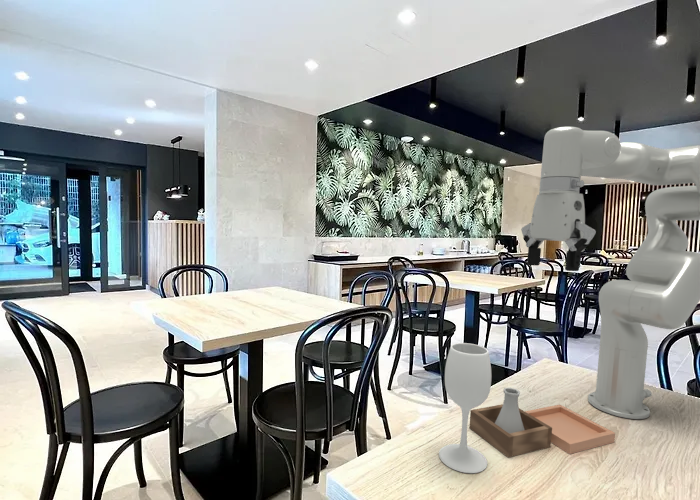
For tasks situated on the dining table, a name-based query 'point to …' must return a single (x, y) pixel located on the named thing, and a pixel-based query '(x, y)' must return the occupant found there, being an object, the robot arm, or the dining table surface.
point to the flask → (510, 412)
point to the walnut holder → (513, 443)
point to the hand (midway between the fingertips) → (551, 267)
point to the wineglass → (466, 400)
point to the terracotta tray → (572, 429)
